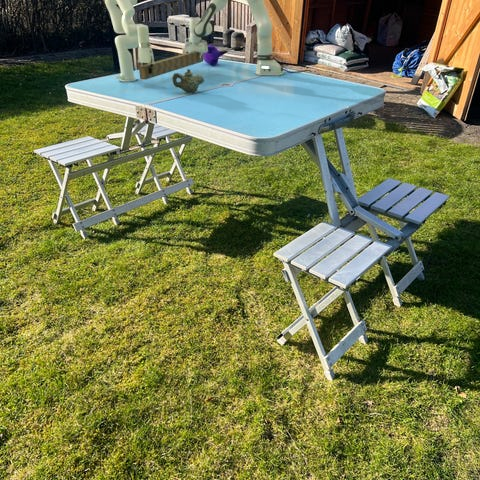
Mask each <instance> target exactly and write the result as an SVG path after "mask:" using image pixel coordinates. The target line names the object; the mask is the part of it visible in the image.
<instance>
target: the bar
mask: <svg viewBox="0 0 480 480" xmlns="http://www.w3.org/2000/svg"><path fill="white" fill-rule="evenodd" d="M199 56H200V53H199V52H194V51H193V52H186V53H181V54H178V55H174V56H171V57H168V58H167V57H166V58H163V59H160V60H156V61H155V64H154V65H153V67H152V73H151V74H149V69H148V68H149V66H148V63H145V65H139V66H138V73H139V79H140V80H145V81H146V80H149V79H151V78H152V79H153V78H155V77H158V76H162V75H165V74H168V73H172V72H175V71H177V70H180V69H185V68H186V67H190V66H193V65H196V64H200V63H203V62H204V59H203V53H202V56H201V59H200V58H199Z"/></svg>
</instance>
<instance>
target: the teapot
mask: <svg viewBox="0 0 480 480" xmlns="http://www.w3.org/2000/svg"><path fill="white" fill-rule="evenodd" d="M177 79H179V80H180V81H177ZM204 82H205V79H204V77H203V75H200V74H196V75H194V73H193V72H192V71H191V69H189V68H187V70H186V71H185V72H184V75H183V74H181V73H179V72H175V73H173V75H172V84H173V86H174V87H176V88H179V89H181V90H182V91H184V92H186V93H188V94H193V93H195V92H197V91H198V89H199V86H200V85H201V84H203V83H204Z"/></svg>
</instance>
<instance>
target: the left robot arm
mask: <svg viewBox="0 0 480 480" xmlns="http://www.w3.org/2000/svg"><path fill="white" fill-rule="evenodd" d="M104 4H105V6H106V9H107V10H108V13H109V16H110V19H111V24H112V26H113V31H114V32H115V34H120V35H117V36H115V38H114V43H115V48H116V50H117V51H116V52H117V56H118V62H119V67H120V68H119V69H120V74H119V75H115V76H114V78H115V79H117V80H119V81H120V82H123V83H126V82H128V83H130V82H135V81H137V79H138V78H137V77H135V71H134V63H133V55H132V53H131V52H130V51H129V50H130V49H137V48H138V49H137V54H138V55H137V56H138V59H137V63H138V64H139V66H141V65H145V64H148V66H149V68H148V69H149V74H151V73H152V67H153V65H154V64H155V62H156V61H155V57H154V52H153V48H152V44H151V41H150V34H149V33H150V32H149V26H148V25H146V24H143V23H135V21H134V19H132V18H133V17H134V16H135V13H136V10H135V8H134V6H135V5H137V4H138V0H104ZM117 5H118V6H117Z"/></svg>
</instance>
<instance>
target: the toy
mask: <svg viewBox="0 0 480 480" xmlns="http://www.w3.org/2000/svg"><path fill="white" fill-rule="evenodd" d="M207 47H208V52H207V53H203V62H205V63H206V64H209V65H210V66H211V67H215V66H216V65H217V64H218V63H219V59H220V58H221V57H222V56H225V54H227V53H229V50H219V49H218V48H217V47H216V46H215V45H212V44H209V45H207Z"/></svg>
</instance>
